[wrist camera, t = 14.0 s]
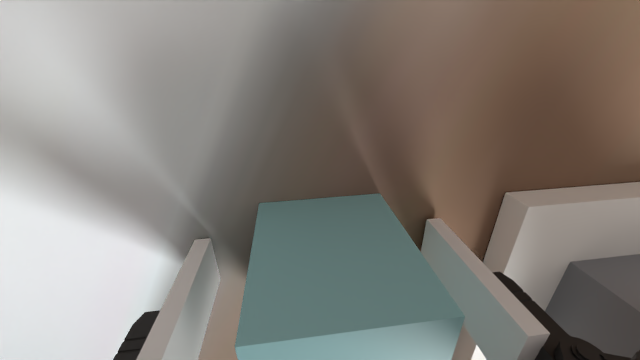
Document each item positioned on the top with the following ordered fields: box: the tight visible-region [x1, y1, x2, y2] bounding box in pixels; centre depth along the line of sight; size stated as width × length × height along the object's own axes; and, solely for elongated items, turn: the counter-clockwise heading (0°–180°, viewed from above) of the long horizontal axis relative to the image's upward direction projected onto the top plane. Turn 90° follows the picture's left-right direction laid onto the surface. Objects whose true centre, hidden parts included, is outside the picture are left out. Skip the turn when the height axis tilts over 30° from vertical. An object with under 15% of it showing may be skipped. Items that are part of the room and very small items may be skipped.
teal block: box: [235, 193, 465, 360], centre depth 11 cm, size 6×6×7 cm
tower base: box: [451, 182, 640, 360], centre depth 15 cm, size 16×16×6 cm
